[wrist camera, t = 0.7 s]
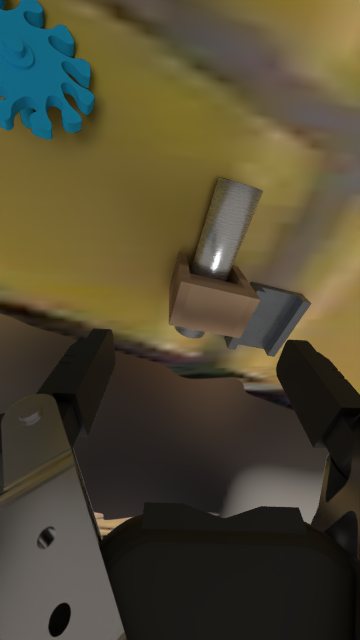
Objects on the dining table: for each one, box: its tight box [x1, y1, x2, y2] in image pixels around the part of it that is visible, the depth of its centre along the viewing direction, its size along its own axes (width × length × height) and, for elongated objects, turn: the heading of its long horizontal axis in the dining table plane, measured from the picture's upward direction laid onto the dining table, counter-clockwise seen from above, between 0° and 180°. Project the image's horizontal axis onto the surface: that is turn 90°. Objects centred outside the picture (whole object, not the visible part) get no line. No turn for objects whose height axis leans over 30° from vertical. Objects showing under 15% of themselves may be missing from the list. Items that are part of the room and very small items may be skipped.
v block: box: [224, 282, 311, 357], centre depth 31 cm, size 10×8×2 cm
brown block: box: [169, 253, 260, 338], centre depth 25 cm, size 5×8×8 cm, turn 75°
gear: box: [0, 0, 95, 140], centre depth 16 cm, size 11×6×10 cm
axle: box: [175, 177, 263, 338], centre depth 26 cm, size 18×4×4 cm, turn 165°
